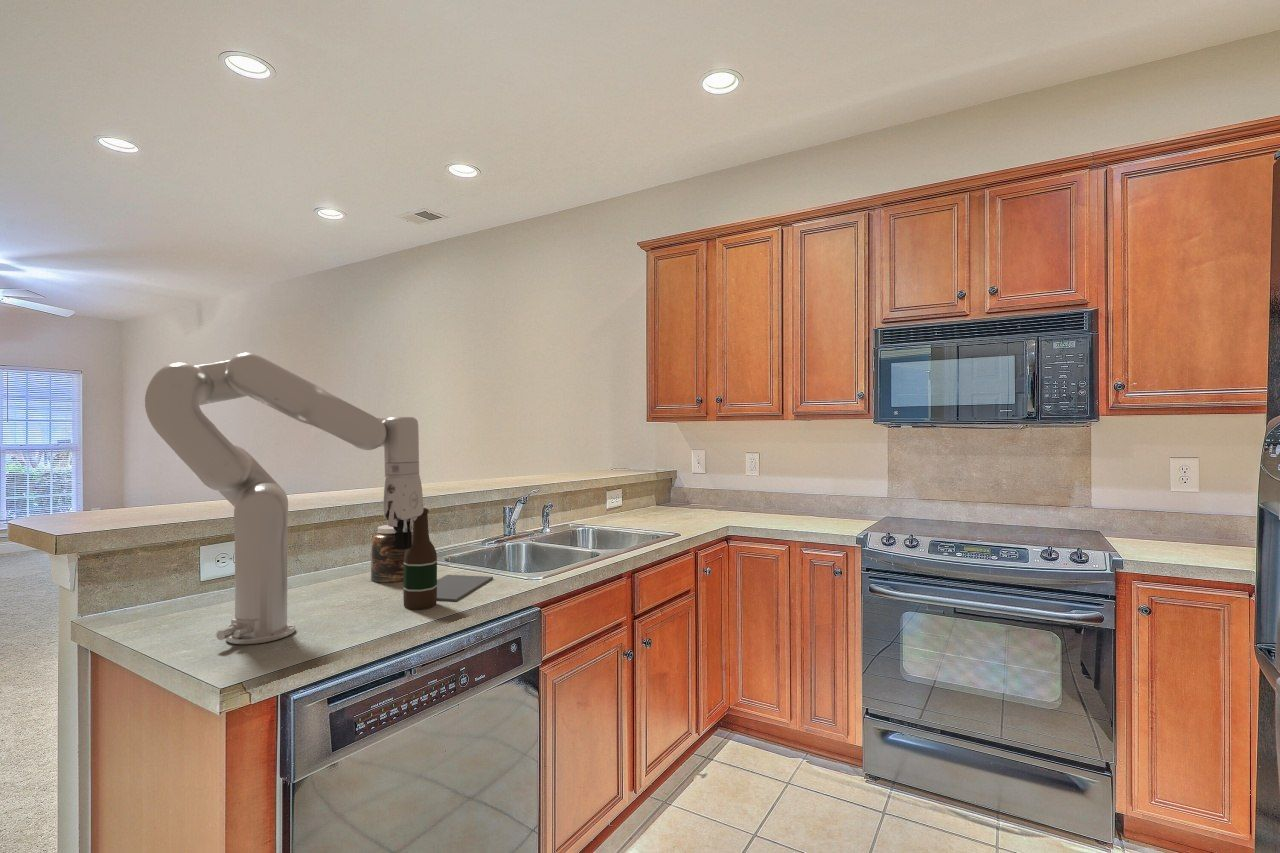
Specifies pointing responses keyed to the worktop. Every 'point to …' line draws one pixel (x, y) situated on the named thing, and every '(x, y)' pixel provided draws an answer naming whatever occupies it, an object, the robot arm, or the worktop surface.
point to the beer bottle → (420, 568)
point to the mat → (458, 586)
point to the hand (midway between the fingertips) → (403, 548)
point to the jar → (386, 557)
